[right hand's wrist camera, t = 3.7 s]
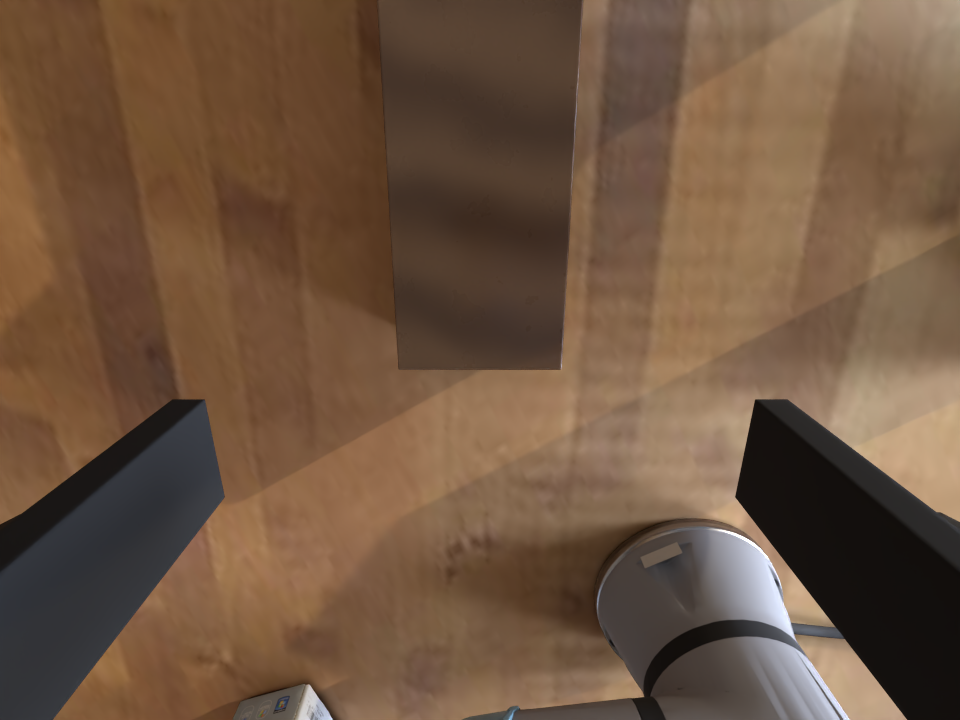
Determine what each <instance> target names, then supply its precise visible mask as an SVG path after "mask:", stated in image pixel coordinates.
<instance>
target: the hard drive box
mask: <svg viewBox="0 0 960 720" xmlns="http://www.w3.org/2000/svg"><path fill="white" fill-rule="evenodd" d="M233 720H333V719H332V717H331V716H330V713H329V712H328V710H327V709H326V708H325V706H324V704H323V703H322V702H321V701H320V700H319V698H318V696H317V695H316V693H315V692H314V691H313V689H312V687H311V686H310V685H309V684H308V685H305V684H302V685H298V686H294V687H291V688H287V689H284V690H280V691H276V692H273V693H269V694H265V695H262V696H258V697H254V698H251V699H247V700H244V701H241V702H240V704H239V706H238V709H237V711H236V713H235V715H234V717H233Z"/></svg>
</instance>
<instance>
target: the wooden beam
mask: <svg viewBox="0 0 960 720" xmlns="http://www.w3.org/2000/svg"><path fill="white" fill-rule="evenodd" d="M377 8H378V25H379V42H380V60H381V77H382V94H383V111H384V128H385V145H386V162H387V179H388V196H389V213H390V231H391V248H392V265H393V282H394V299H395V316H396V333H397V350H398V367H399V369H400V370H561V368H562V353H563V336H564V319H565V302H566V285H567V268H568V251H569V234H570V217H571V200H572V183H573V166H574V148H575V131H576V114H577V97H578V80H579V63H580V46H581V29H582V12H583V0H377Z"/></svg>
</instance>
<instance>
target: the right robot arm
mask: <svg viewBox="0 0 960 720" xmlns="http://www.w3.org/2000/svg"><path fill="white" fill-rule="evenodd" d="M224 497H225V496H224V491H223V486H222V481H221V477H220V472H219V467H218V462H217V457H216V452H215V447H214V442H213V437H212V433H211V428H210V423H209V418H208V413H207V408H206V403H205V400H171V401H170V402H169V403H167V404H166V405H165V406H163V407H162V408H161V409H159V410H158V411H157V412H155V413H154V414H153V415H152V416H150V417H149V418H148V419H146V420H145V421H144V422H142V423H141V424H140V425H138V426H137V427H136V428H134V429H133V430H132V431H130V432H129V433H128V434H126V435H125V436H124V437H122V438H121V439H120V440H118V441H117V442H116V443H115V444H113V445H112V446H111V447H109V448H108V449H107V450H105V451H104V452H103V453H101V454H100V455H99V456H97V457H96V458H95V459H93V460H92V461H91V462H89V463H88V464H87V465H85V466H84V467H83V468H82V469H80V470H79V471H78V472H76V473H75V474H74V475H72V476H71V477H70V478H68V479H67V480H66V481H64V482H63V483H62V484H60V485H59V486H58V487H56V488H55V489H54V490H52V491H51V492H50V493H48V494H47V495H46V496H45V497H43V498H42V499H41V500H39V501H38V502H37V503H35V504H34V505H33V506H31V507H30V508H29V509H27V510H26V511H25V512H23V513H22V514H20V515H18V516H16V517H14V518H12V519H10V520H8V521H6V522H4V523H2V524H0V720H53V719H54V717H55V716H56V715H57V713H58V712H59V711H60V710H61V708H62V707H63V706H64V704H65V703H66V702H67V701H68V699H69V698H70V697H71V695H72V694H73V693H74V691H75V690H76V689H77V688H78V686H79V685H80V684H81V682H82V681H83V680H84V679H85V677H86V676H87V675H88V673H89V672H90V671H91V669H92V668H93V667H94V666H95V664H96V663H97V662H98V660H99V659H100V658H101V657H102V655H103V654H104V653H105V651H106V650H107V649H108V647H109V646H110V645H111V644H112V642H113V641H114V640H115V638H116V637H117V636H118V635H119V633H120V632H121V631H122V629H123V628H124V627H125V625H126V624H127V623H128V622H129V620H130V619H131V618H132V616H133V615H134V614H135V613H136V611H137V610H138V609H139V607H140V606H141V605H142V603H143V602H144V601H145V600H146V598H147V597H148V596H149V594H150V593H151V592H152V591H153V589H154V588H155V587H156V585H157V584H158V583H159V581H160V580H161V579H162V578H163V576H164V575H165V574H166V572H167V571H168V570H169V569H170V567H171V566H172V565H173V563H174V562H175V561H176V559H177V558H178V557H179V556H180V554H181V553H182V552H183V550H184V549H185V548H186V547H187V545H188V544H189V543H190V541H191V540H192V539H193V538H194V536H195V535H196V534H197V532H198V531H199V530H200V528H201V527H202V526H203V525H204V523H205V522H206V521H207V519H208V518H209V517H210V516H211V514H212V513H213V512H214V510H215V509H216V508H217V506H218V505H219V504H220V503H221V501H222V500H223V499H224ZM735 497H736V499H737V500H738V501H739V503H740V504H741V505H742V506H743V508H744V509H745V510H746V512H747V513H748V514H749V516H750V517H751V518H752V519H753V521H754V522H755V523H756V525H757V526H758V527H759V528H760V530H761V531H762V532H763V534H764V535H765V536H766V538H767V539H768V540H769V541H770V543H771V544H772V545H773V547H774V548H775V549H776V550H777V552H778V553H779V554H780V556H781V557H782V558H783V559H784V561H785V562H786V563H787V565H788V566H789V567H790V569H791V570H792V571H793V572H794V574H795V575H796V576H797V578H798V579H799V580H800V581H801V583H802V584H803V585H804V587H805V588H806V589H807V591H808V592H809V593H810V594H811V596H812V597H813V598H814V600H815V601H816V602H817V603H818V605H819V606H820V607H821V609H822V610H823V611H824V613H825V614H826V615H827V616H828V618H829V619H830V620H831V622H832V623H833V624H834V625H835V627H836V628H834V627H823V626H814V625H805V624H797V623H791V622H790V619H789V616H788V613H787V611H786V609H785V607H784V604H783V592H782V588H781V584H780V580H779V578H778V575H777V573H776V571H775V569H774V567H773V565H772V563H771V562H770V560H769V559H768V557H767V556H766V555H765V553H764V552H763V550H762V549H761V548H760V547H759V545H758V544H757V543H756V542H755V541H754V540H753V539H752V538H751V537H750V536H748V535H747V534H746V533H744V532H743V531H741V530H739V529H737V528H735V527H733V526H731V525H728V524H725V523H722V522H718V521H714V520H707V519H680V520H674V521H668V522H665V523H661V524H658V525H655V526H652V527H650V528H647V529H645V530H643V531H641V532H639V533H637V534H635V535H634V536H632V537H631V538H629V539H628V540H626V541H625V542H624V543H622V544H621V545H620V546H619V547H618V548H617V549H616V550H615V551H614V552H613V553H612V554H611V555H610V556H609V558H608V559H607V560H606V562H605V563H604V565H603V567H602V568H601V570H600V572H599V575H598V577H597V580H596V584H595V589H594V603H595V608H596V613H597V616H598V620H599V623H600V626H601V629H602V631H603V633H604V635H605V637H606V639H607V641H608V643H609V644H610V646H611V647H612V649H613V650H614V651H615V653H616V654H617V655H618V656H619V657H620V658H621V659H622V660H623V661H624V662H625V664H626V667H627V668H628V670H629V672H630V674H631V675H632V677H633V678H634V680H635V681H636V683H637V684H638V686H639V687H640V689H641V690H642V691H643V694H644V697H642V698H627V699H618V700H609V701H600V702H591V703H582V704H573V705H564V706H555V707H546V708H536V709H525V710H520V708H519V707H518V706H512V707H510V708H509V709H508V710H507V711H502V712H496V713H490V714H484V715H478V716H472V717H468V718H465V719H463V720H849V718H848V717H847V715H846V714H845V712H844V711H843V709H842V708H841V706H840V705H839V703H838V702H837V700H836V699H835V697H834V696H833V694H832V693H831V692H830V690H829V689H828V687H827V686H826V684H825V683H824V681H823V680H822V678H821V677H820V675H819V674H818V672H817V671H816V669H815V668H814V666H813V665H812V664H811V662H810V661H809V659H808V658H807V656H806V655H805V653H804V652H803V650H802V649H801V647H800V646H799V644H798V643H797V641H796V640H795V636H794V634H799V635H808V636H818V637H828V638H839V639H845V640H846V641H847V642H848V644H849V645H850V646H851V647H852V649H853V650H854V651H855V653H856V654H857V655H858V657H859V658H860V659H861V660H862V662H863V663H864V664H865V666H866V667H867V668H868V669H869V671H870V672H871V673H872V675H873V676H874V677H875V679H876V680H877V681H878V682H879V684H880V685H881V686H882V688H883V689H884V690H885V691H886V693H887V694H888V695H889V697H890V698H891V699H892V701H893V702H894V703H895V704H896V706H897V707H898V708H899V710H900V711H901V712H902V713H903V715H904V716H905V717H906V719H907V720H960V522H958V521H956V520H954V519H952V518H950V517H948V516H946V515H944V514H943V513H941V512H935V511H934V510H933V509H931V508H930V507H929V506H927V505H926V504H925V503H923V502H922V501H921V500H919V499H918V498H917V497H915V496H914V495H913V494H912V493H910V492H909V491H908V490H906V489H905V488H904V487H902V486H901V485H900V484H898V483H897V482H896V481H894V480H893V479H892V478H890V477H889V476H888V475H886V474H885V473H884V472H882V471H881V470H880V469H878V468H877V467H876V466H875V465H873V464H872V463H871V462H869V461H868V460H867V459H865V458H864V457H863V456H861V455H860V454H859V453H857V452H856V451H855V450H853V449H852V448H851V447H849V446H848V445H847V444H845V443H844V442H843V441H842V440H840V439H839V438H838V437H836V436H835V435H834V434H832V433H831V432H830V431H828V430H827V429H826V428H824V427H823V426H822V425H820V424H819V423H818V422H816V421H815V420H814V419H812V418H811V417H810V416H808V415H807V414H806V413H805V412H803V411H802V410H801V409H799V408H798V407H797V406H795V405H794V404H793V403H791V402H790V401H789V400H755V403H754V408H753V413H752V418H751V423H750V428H749V433H748V437H747V442H746V447H745V452H744V457H743V462H742V467H741V472H740V477H739V481H738V486H737V491H736V496H735Z"/></svg>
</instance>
